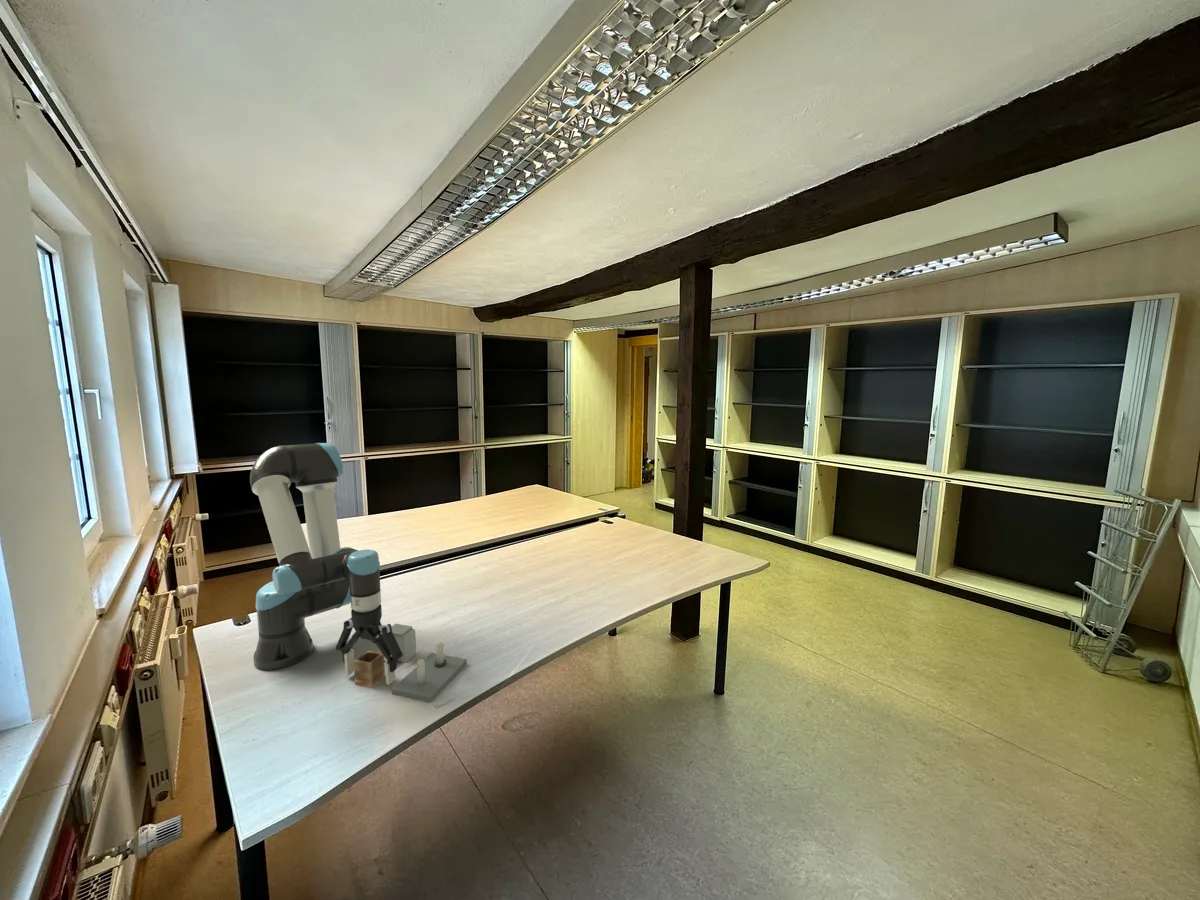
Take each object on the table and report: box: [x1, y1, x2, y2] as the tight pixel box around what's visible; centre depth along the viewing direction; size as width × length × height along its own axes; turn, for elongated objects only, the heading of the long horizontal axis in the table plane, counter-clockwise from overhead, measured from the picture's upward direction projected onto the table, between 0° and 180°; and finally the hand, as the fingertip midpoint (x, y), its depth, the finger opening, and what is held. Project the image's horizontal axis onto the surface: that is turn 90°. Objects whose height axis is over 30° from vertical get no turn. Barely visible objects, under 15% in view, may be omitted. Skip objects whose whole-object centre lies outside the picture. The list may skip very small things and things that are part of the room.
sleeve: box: [353, 650, 386, 688], centre depth 131 cm, size 5×5×7 cm
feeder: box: [384, 623, 417, 663], centre depth 141 cm, size 8×8×9 cm
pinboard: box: [391, 641, 468, 703], centre depth 132 cm, size 12×18×8 cm, turn 165°
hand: (370, 677), depth 131 cm, fingers open, 13 cm apart
